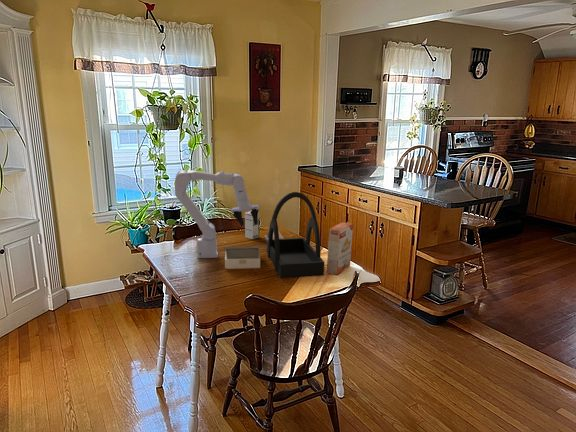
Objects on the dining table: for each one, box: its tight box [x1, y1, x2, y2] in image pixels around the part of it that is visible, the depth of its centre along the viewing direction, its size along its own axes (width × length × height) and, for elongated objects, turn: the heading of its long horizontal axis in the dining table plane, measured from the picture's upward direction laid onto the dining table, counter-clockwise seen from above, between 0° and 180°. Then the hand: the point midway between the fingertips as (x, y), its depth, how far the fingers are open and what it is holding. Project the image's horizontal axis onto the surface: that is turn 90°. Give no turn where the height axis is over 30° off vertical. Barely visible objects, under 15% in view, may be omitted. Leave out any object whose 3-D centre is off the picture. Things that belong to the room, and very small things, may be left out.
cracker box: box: [326, 221, 354, 276], centre depth 197 cm, size 14×6×21 cm, turn 148°
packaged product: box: [263, 229, 285, 243], centre depth 236 cm, size 18×5×10 cm
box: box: [224, 249, 261, 270], centre depth 204 cm, size 16×14×4 cm
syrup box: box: [244, 210, 260, 240], centre depth 241 cm, size 6×6×14 cm
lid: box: [223, 246, 262, 250], centre depth 203 cm, size 17×15×1 cm
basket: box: [266, 191, 325, 279], centre depth 202 cm, size 35×21×35 cm, turn 13°
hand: (249, 224), depth 214 cm, fingers open, 7 cm apart
